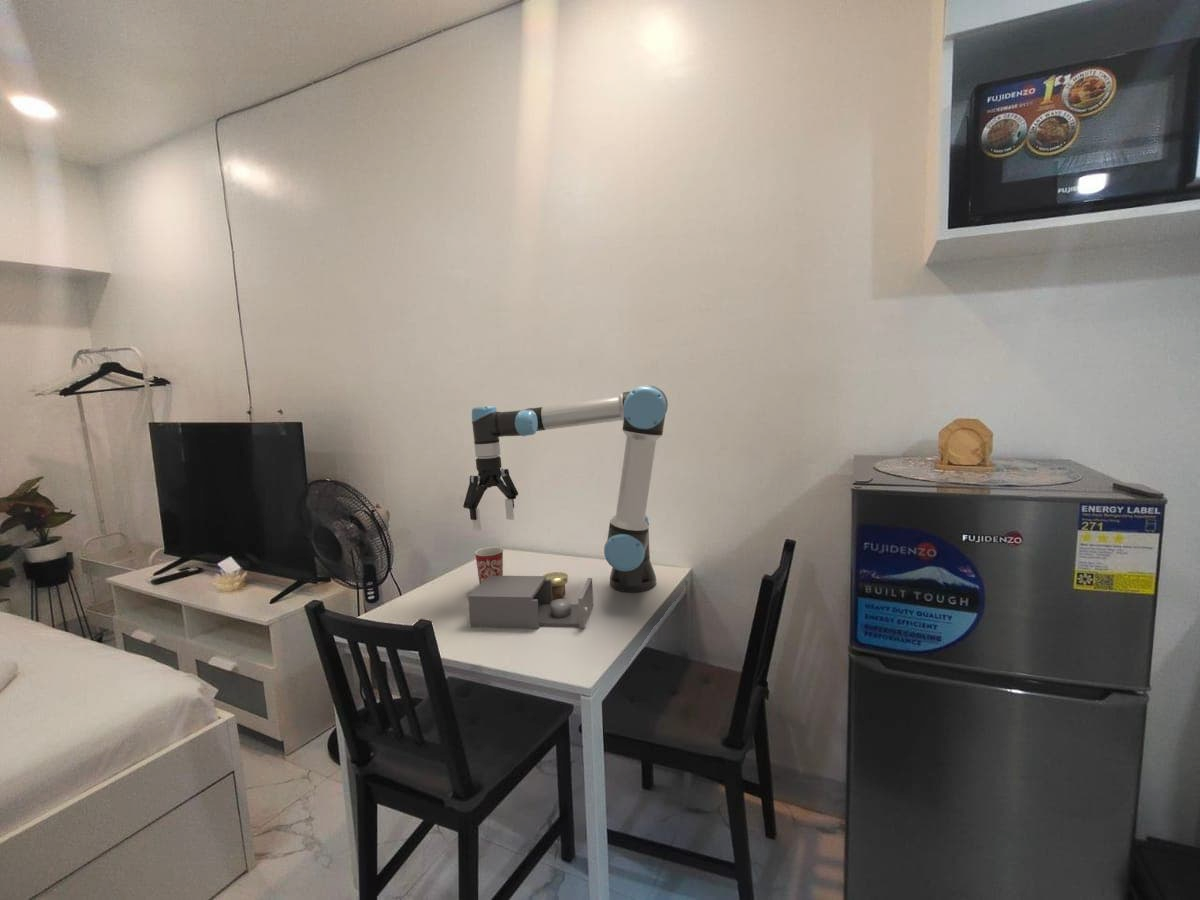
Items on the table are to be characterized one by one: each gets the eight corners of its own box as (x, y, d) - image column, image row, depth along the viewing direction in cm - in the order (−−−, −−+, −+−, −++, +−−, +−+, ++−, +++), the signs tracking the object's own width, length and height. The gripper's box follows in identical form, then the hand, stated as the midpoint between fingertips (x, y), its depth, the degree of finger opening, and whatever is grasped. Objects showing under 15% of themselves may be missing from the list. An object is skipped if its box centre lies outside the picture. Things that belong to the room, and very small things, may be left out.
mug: (505, 594, 170) (502, 553, 169) (476, 597, 169) (473, 556, 168) (507, 580, 183) (504, 542, 181) (480, 583, 182) (477, 544, 180)
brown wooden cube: (565, 594, 168) (564, 578, 168) (561, 600, 164) (561, 584, 163) (550, 593, 169) (549, 578, 169) (546, 600, 164) (545, 584, 164)
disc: (570, 577, 169) (570, 572, 169) (564, 586, 161) (564, 581, 161) (545, 576, 170) (545, 572, 170) (539, 586, 163) (538, 581, 162)
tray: (595, 605, 158) (594, 578, 157) (586, 628, 143) (584, 598, 142) (529, 604, 161) (527, 577, 160) (513, 626, 146) (511, 597, 145)
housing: (552, 604, 160) (551, 576, 159) (538, 629, 145) (536, 597, 144) (491, 603, 164) (488, 575, 163) (470, 627, 148) (468, 596, 147)
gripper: (509, 451, 175) (514, 514, 178) (446, 462, 156) (453, 533, 158) (525, 451, 171) (531, 516, 173) (463, 463, 151) (470, 536, 153)
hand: (494, 524), depth 166 cm, fingers open, 13 cm apart
